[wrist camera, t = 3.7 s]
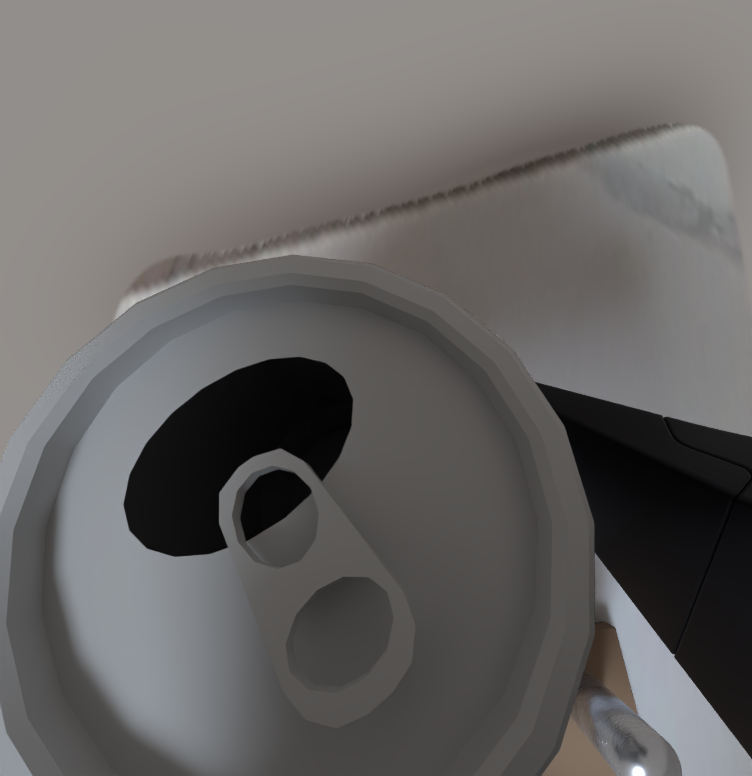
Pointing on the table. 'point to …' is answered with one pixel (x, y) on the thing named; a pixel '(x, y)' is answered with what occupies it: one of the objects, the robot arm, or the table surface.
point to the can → (292, 541)
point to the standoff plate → (610, 723)
